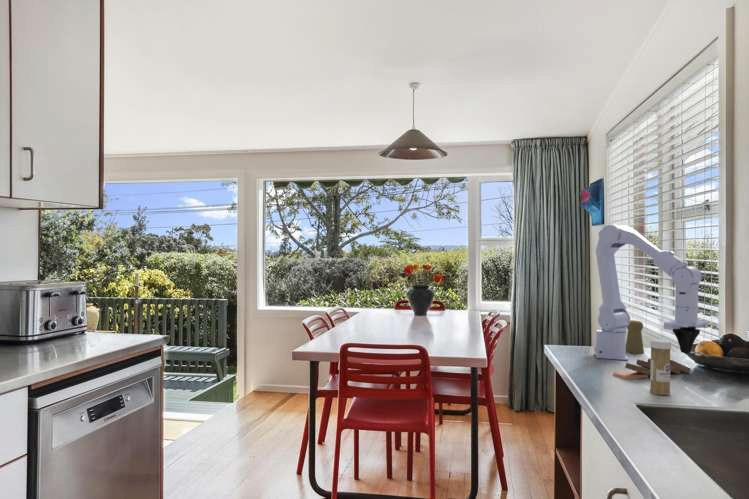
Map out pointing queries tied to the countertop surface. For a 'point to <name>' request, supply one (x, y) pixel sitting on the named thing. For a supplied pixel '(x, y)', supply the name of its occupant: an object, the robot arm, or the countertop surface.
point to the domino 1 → (630, 374)
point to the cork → (634, 338)
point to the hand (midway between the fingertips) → (685, 352)
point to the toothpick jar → (660, 366)
